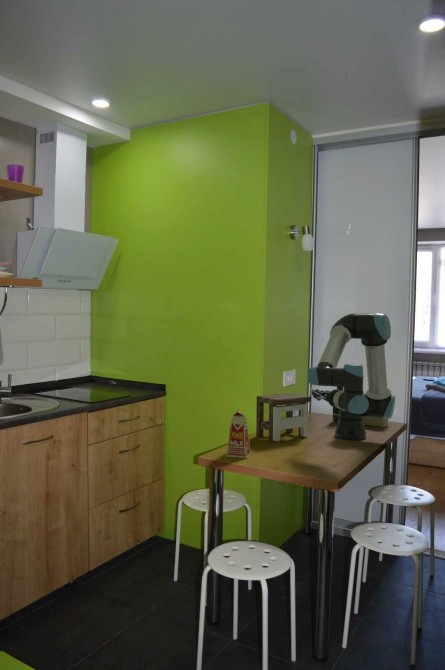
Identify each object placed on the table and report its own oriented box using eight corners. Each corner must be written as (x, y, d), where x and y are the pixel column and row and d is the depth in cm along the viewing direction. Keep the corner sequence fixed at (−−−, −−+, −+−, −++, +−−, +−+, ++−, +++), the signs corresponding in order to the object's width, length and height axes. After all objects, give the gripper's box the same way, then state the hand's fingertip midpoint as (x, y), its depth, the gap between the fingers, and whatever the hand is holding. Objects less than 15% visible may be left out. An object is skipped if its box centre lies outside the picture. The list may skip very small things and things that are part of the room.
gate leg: (307, 436, 261) (307, 403, 261) (276, 441, 249) (276, 407, 249) (303, 435, 263) (304, 403, 263) (272, 440, 251) (273, 406, 251)
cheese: (344, 423, 297) (344, 397, 297) (349, 421, 305) (349, 395, 305) (384, 428, 286) (384, 400, 285) (388, 425, 294) (389, 398, 294)
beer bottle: (338, 423, 297) (339, 381, 296) (329, 421, 303) (330, 379, 303) (349, 422, 300) (350, 380, 300) (340, 420, 307) (340, 379, 306)
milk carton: (247, 458, 220) (247, 410, 219) (225, 457, 222) (226, 409, 221) (250, 453, 229) (251, 406, 228) (229, 451, 231) (230, 406, 230)
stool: (310, 437, 262) (311, 396, 261) (276, 442, 249) (277, 400, 248) (289, 431, 274) (289, 393, 274) (256, 436, 262) (256, 396, 261)
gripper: (326, 409, 218) (298, 400, 240) (353, 407, 223) (323, 398, 245) (326, 391, 218) (298, 383, 240) (353, 389, 222) (323, 382, 244)
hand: (311, 391), depth 242 cm, fingers closed
